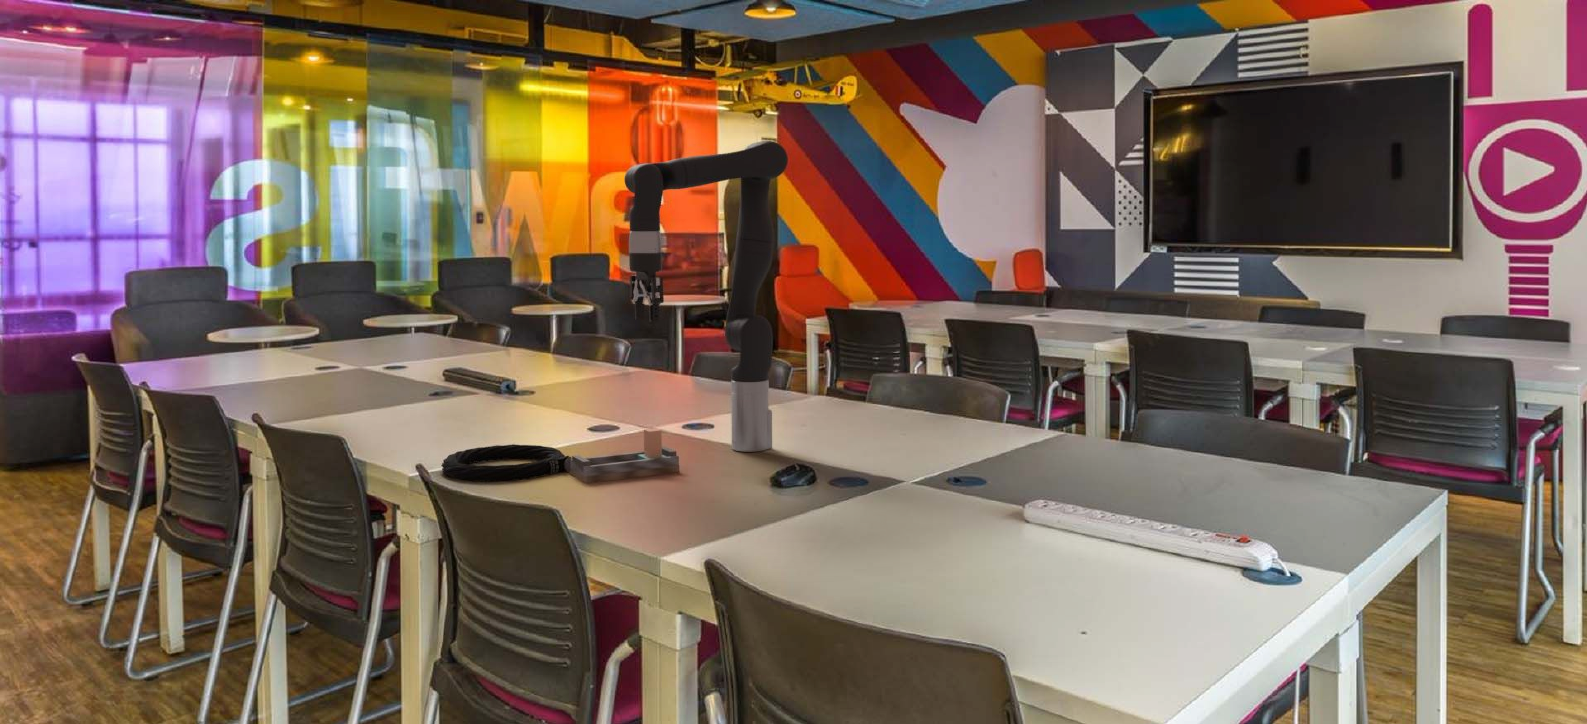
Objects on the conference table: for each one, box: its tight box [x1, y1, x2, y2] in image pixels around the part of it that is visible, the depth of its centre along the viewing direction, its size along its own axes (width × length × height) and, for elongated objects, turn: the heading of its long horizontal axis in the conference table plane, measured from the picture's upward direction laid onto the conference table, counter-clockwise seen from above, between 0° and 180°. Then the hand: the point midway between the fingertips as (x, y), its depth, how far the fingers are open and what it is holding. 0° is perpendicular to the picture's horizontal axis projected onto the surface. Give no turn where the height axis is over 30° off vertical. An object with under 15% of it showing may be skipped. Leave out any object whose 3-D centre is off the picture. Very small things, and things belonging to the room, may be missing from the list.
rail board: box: [569, 445, 680, 484], centre depth 257 cm, size 22×10×4 cm, turn 120°
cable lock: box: [440, 443, 572, 482], centre depth 262 cm, size 28×4×30 cm
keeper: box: [637, 428, 667, 460], centre depth 260 cm, size 5×6×8 cm
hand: (647, 320), depth 269 cm, fingers open, 8 cm apart
